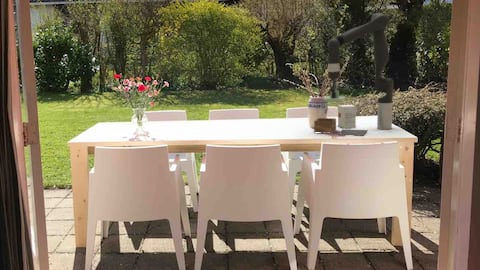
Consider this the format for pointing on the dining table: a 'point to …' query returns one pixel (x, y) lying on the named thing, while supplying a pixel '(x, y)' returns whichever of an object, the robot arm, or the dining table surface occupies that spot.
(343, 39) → the robot arm
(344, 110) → the supplement box
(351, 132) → the rubber mat
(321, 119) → the walnut box
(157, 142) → the dining table surface
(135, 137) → the dining table surface
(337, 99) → the lid
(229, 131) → the dining table surface
